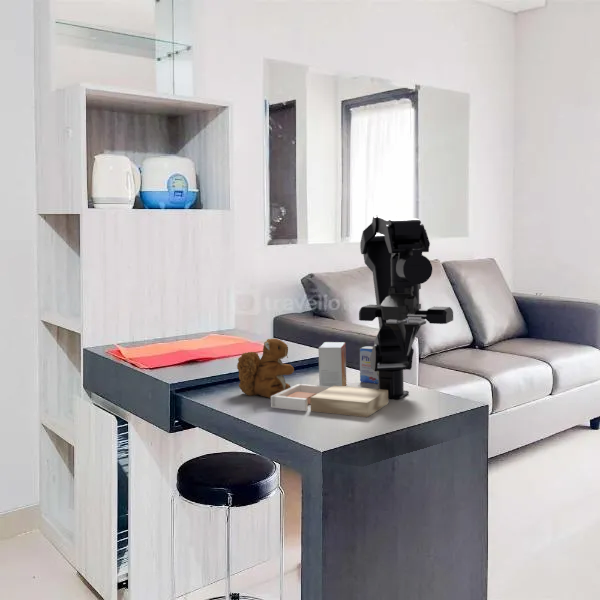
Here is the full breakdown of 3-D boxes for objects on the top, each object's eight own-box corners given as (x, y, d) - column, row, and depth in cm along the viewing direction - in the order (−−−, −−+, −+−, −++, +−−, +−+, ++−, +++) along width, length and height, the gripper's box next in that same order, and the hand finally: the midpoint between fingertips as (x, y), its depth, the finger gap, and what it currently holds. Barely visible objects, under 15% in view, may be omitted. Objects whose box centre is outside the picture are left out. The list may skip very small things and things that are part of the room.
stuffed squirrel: (291, 399, 166) (290, 342, 165) (231, 398, 168) (229, 342, 167) (297, 389, 176) (296, 335, 175) (240, 389, 178) (238, 335, 177)
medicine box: (359, 382, 181) (358, 348, 180) (368, 378, 185) (367, 345, 184) (388, 385, 177) (387, 350, 176) (396, 381, 181) (395, 347, 180)
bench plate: (334, 398, 166) (334, 385, 165) (388, 403, 160) (388, 390, 159) (310, 411, 155) (310, 397, 155) (367, 417, 149) (367, 402, 149)
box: (298, 394, 170) (298, 383, 170) (331, 397, 167) (331, 386, 166) (271, 407, 159) (270, 396, 159) (305, 411, 155) (305, 399, 155)
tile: (316, 393, 164) (316, 402, 164) (297, 391, 166) (297, 400, 167) (305, 398, 160) (305, 407, 160) (285, 396, 162) (286, 405, 162)
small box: (342, 391, 172) (341, 347, 171) (319, 390, 173) (318, 347, 172) (347, 383, 180) (346, 341, 179) (324, 383, 181) (323, 341, 180)
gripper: (347, 283, 147) (349, 359, 148) (437, 284, 138) (438, 365, 140) (368, 278, 156) (369, 350, 158) (453, 279, 148) (454, 355, 149)
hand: (405, 355), depth 151 cm, fingers closed
